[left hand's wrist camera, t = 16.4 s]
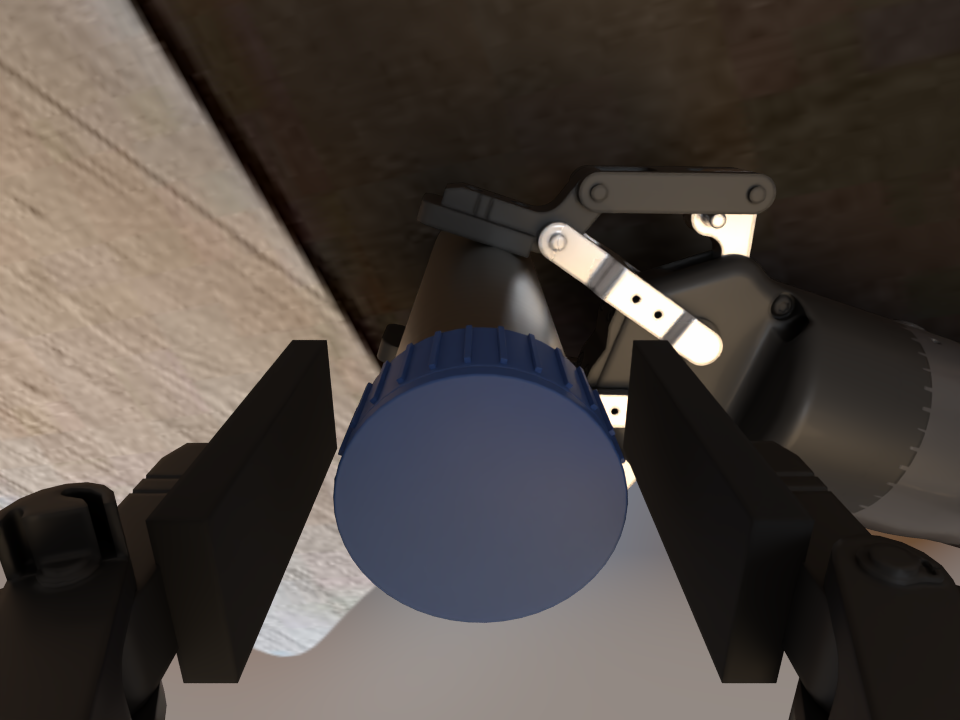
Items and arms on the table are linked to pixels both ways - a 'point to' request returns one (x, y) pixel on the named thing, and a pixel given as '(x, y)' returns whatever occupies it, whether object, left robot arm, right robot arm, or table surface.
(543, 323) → the grey metal cylinder
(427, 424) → the lid
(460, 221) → the right robot arm
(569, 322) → the table surface
